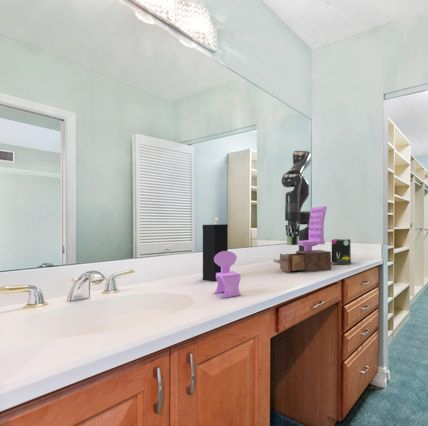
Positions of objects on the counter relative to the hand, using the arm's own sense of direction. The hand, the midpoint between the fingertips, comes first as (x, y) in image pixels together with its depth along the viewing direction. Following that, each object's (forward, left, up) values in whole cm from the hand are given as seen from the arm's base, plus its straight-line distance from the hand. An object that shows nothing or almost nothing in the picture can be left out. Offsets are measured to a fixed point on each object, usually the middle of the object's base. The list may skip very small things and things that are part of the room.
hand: (292, 244), depth 145 cm
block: (0, 0, 0) cm, 0 cm away
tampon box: (-11, +37, -14) cm, 41 cm away
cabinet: (0, +12, -14) cm, 18 cm away
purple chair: (-18, +19, -14) cm, 30 cm away
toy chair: (+33, -39, -14) cm, 53 cm away
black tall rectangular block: (+2, -39, -14) cm, 42 cm away
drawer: (0, 0, -13) cm, 13 cm away
